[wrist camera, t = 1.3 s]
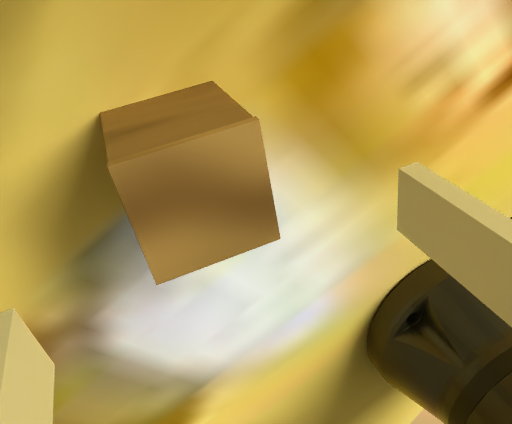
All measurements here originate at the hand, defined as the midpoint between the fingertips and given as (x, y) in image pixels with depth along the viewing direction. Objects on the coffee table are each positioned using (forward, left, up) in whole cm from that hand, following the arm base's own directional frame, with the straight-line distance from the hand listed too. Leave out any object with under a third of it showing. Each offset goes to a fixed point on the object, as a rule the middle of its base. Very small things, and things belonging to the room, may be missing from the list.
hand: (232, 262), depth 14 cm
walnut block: (0, 0, -12) cm, 12 cm away
